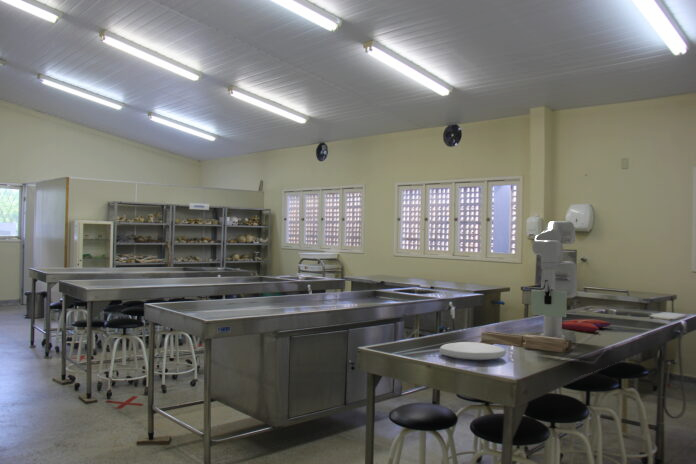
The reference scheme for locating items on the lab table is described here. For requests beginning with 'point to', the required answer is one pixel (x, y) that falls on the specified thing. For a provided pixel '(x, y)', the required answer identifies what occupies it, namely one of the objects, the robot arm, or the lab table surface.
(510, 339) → the cradle
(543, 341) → the rack
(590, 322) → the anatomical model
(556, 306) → the tall sheet
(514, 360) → the lab table surface
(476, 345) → the plate
